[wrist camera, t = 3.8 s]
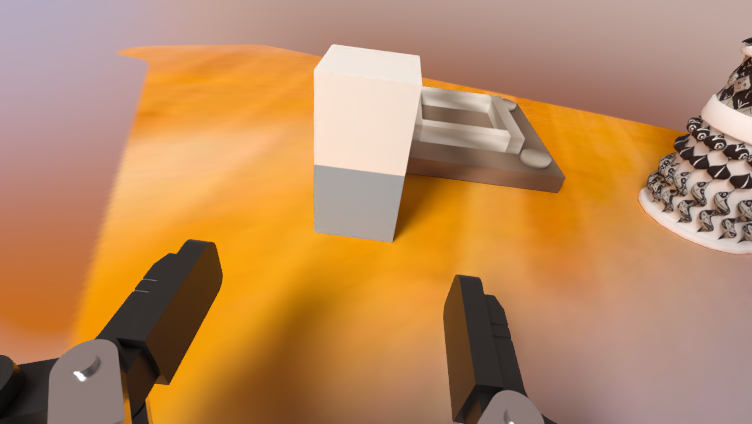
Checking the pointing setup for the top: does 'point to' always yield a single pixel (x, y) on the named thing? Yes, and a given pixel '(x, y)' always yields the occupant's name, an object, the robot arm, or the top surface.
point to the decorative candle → (710, 171)
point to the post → (362, 139)
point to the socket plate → (479, 142)
